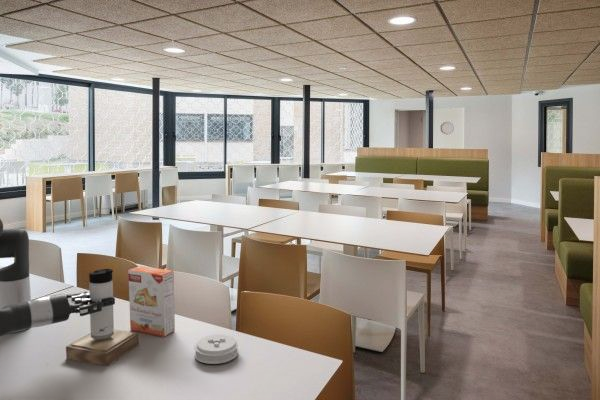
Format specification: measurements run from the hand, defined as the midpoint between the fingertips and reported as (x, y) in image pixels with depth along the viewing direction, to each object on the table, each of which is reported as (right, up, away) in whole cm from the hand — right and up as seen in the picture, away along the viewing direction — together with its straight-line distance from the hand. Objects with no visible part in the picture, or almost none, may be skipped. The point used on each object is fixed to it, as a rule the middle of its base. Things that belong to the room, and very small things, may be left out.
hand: (109, 297), depth 132 cm
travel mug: (-2, -11, 0) cm, 12 cm away
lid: (+32, -17, -1) cm, 36 cm away
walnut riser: (-2, -16, 0) cm, 16 cm away
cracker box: (+8, -15, +15) cm, 23 cm away
